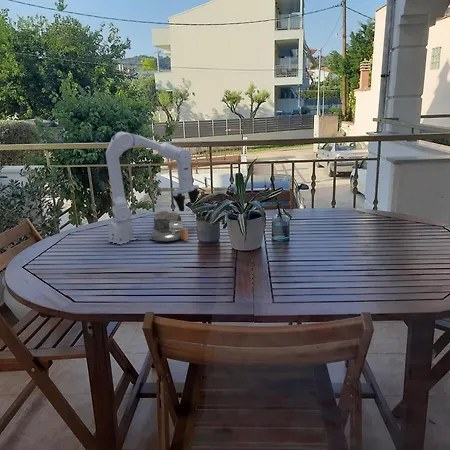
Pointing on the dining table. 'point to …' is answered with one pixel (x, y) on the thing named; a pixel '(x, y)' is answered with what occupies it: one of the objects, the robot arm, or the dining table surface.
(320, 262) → the dining table surface
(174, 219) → the rock
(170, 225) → the cover
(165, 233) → the turntable
